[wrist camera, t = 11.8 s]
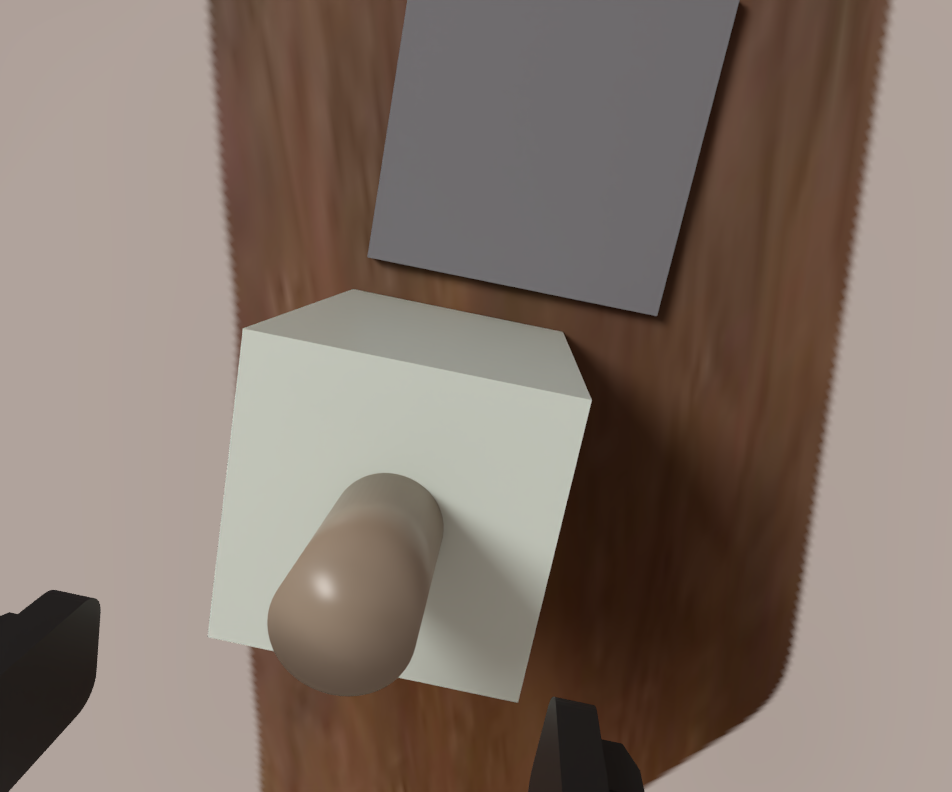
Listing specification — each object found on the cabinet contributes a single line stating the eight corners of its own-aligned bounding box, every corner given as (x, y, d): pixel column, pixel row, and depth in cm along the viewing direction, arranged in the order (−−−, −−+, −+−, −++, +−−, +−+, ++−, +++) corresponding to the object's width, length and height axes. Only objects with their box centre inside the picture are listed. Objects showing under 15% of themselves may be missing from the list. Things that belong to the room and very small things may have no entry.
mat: (420, -64, 26) (418, -71, 25) (736, -2, 26) (741, -7, 25) (370, 256, 29) (367, 257, 28) (654, 314, 29) (657, 316, 28)
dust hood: (353, 289, 29) (138, 366, 13) (562, 332, 29) (619, 465, 13) (323, 486, 31) (105, 769, 15) (518, 526, 31) (517, 858, 15)
